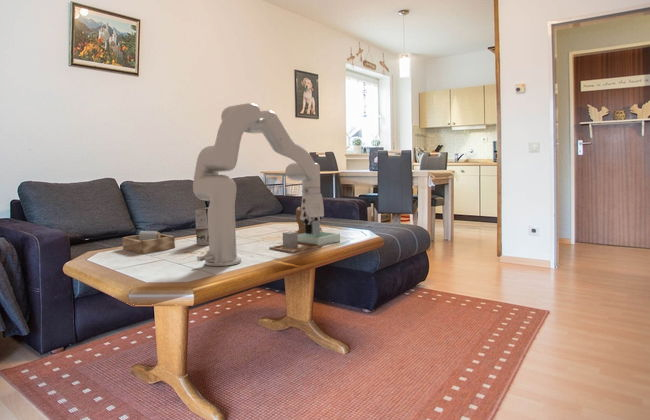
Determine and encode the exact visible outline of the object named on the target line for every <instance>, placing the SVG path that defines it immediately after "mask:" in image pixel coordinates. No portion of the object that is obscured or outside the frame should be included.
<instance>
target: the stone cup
mask: <svg viewBox="0 0 650 420" xmlns="http://www.w3.org/2000/svg"><path fill="white" fill-rule="evenodd" d="M301 214H302V213H301V206H298V207H297V208H296V210H295V219H296V222H297V223H296V224H297V225H298V226H297V227H298V230H296V231H295V230H294V232H298V234H303V233H306V229H305V224H304V222H303V220H301V219H300V216H301ZM307 220H308V219H307ZM311 220H314V218H311ZM320 231H321V232H324V231H323V229H322V227H321V226H320Z"/></svg>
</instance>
